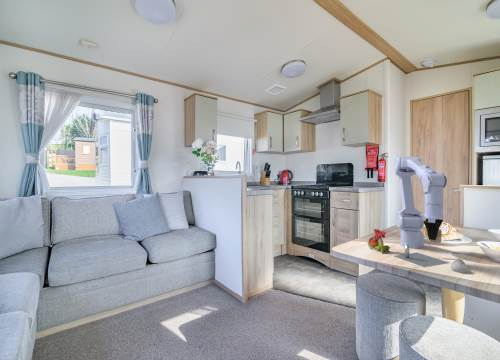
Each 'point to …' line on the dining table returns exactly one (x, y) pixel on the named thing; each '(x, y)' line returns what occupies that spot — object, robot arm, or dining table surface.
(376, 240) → the bird rattle
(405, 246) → the steel post
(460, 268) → the pale two-lobed sculpture
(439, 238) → the brown wooden block
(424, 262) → the lacing board
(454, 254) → the dining table surface
